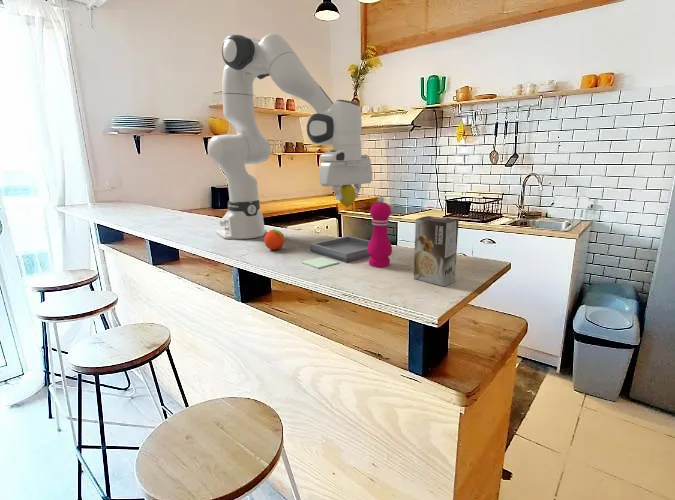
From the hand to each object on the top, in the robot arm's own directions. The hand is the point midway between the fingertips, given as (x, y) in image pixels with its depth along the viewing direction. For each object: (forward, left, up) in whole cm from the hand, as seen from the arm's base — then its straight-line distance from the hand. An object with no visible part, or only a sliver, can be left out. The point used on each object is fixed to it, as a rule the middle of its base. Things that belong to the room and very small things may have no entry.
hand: (347, 199), depth 121 cm
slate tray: (0, 0, -18) cm, 18 cm away
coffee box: (+36, -3, -18) cm, 40 cm away
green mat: (+4, -15, -18) cm, 23 cm away
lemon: (0, 0, -3) cm, 3 cm away
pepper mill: (+17, -3, -18) cm, 25 cm away
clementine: (-19, -16, -18) cm, 31 cm away
